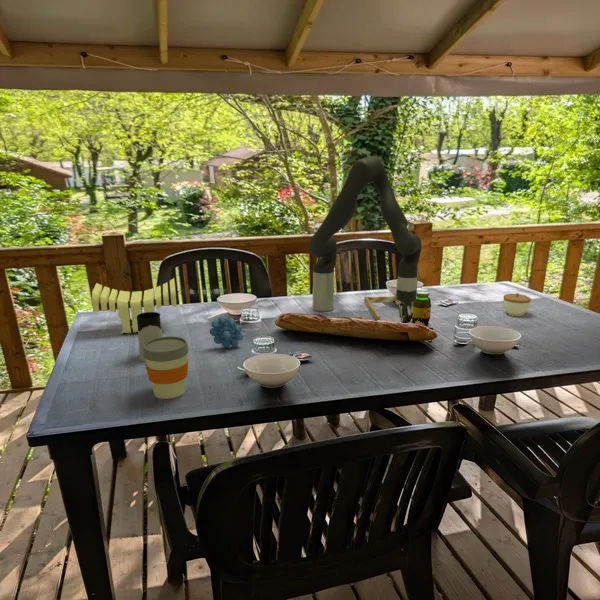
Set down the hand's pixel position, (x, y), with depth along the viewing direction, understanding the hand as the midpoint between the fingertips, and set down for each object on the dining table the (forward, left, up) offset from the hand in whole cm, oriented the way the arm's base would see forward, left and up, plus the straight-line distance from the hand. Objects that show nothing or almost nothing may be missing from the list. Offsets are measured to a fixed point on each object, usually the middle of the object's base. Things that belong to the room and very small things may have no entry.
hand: (404, 330), depth 190 cm
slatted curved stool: (-104, +13, -1) cm, 105 cm away
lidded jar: (+54, +21, -1) cm, 58 cm away
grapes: (-67, -11, -1) cm, 68 cm away
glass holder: (-93, -14, -1) cm, 94 cm away
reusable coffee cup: (-81, -43, -1) cm, 92 cm away
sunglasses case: (+5, -1, -2) cm, 5 cm away
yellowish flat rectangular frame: (0, +28, -1) cm, 28 cm away
